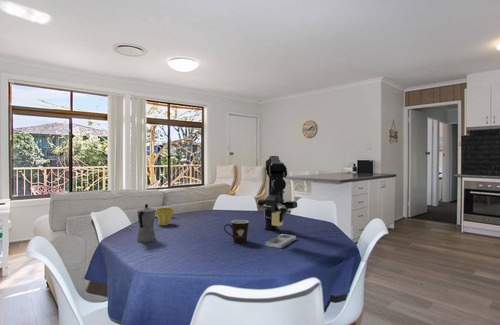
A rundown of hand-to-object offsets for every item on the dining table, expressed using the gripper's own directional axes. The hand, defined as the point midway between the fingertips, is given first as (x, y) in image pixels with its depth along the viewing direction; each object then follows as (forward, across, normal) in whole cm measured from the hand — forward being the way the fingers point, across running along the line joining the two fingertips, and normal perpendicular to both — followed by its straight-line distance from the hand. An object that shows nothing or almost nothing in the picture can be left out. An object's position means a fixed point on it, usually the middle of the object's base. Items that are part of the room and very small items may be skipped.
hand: (277, 221), depth 140 cm
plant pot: (+11, -80, +3) cm, 80 cm away
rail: (+11, 0, +5) cm, 12 cm away
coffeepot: (+11, -60, -28) cm, 67 cm away
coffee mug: (+11, -20, -5) cm, 23 cm away
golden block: (+2, 0, 0) cm, 2 cm away
